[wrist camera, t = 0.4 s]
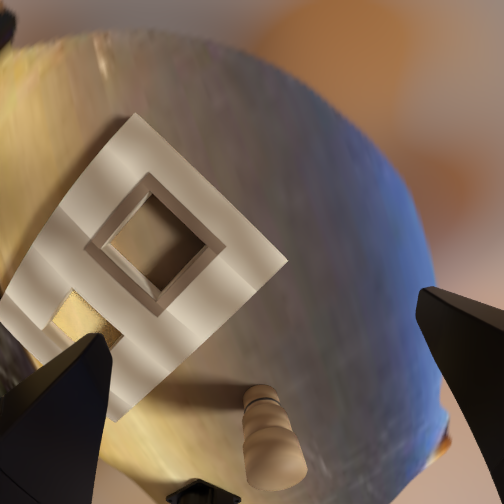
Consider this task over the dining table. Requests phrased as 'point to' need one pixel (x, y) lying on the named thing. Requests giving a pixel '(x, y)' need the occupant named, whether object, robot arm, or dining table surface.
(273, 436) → the peg
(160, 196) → the board
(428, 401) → the dining table surface
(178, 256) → the dining table surface
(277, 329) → the dining table surface
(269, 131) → the dining table surface
